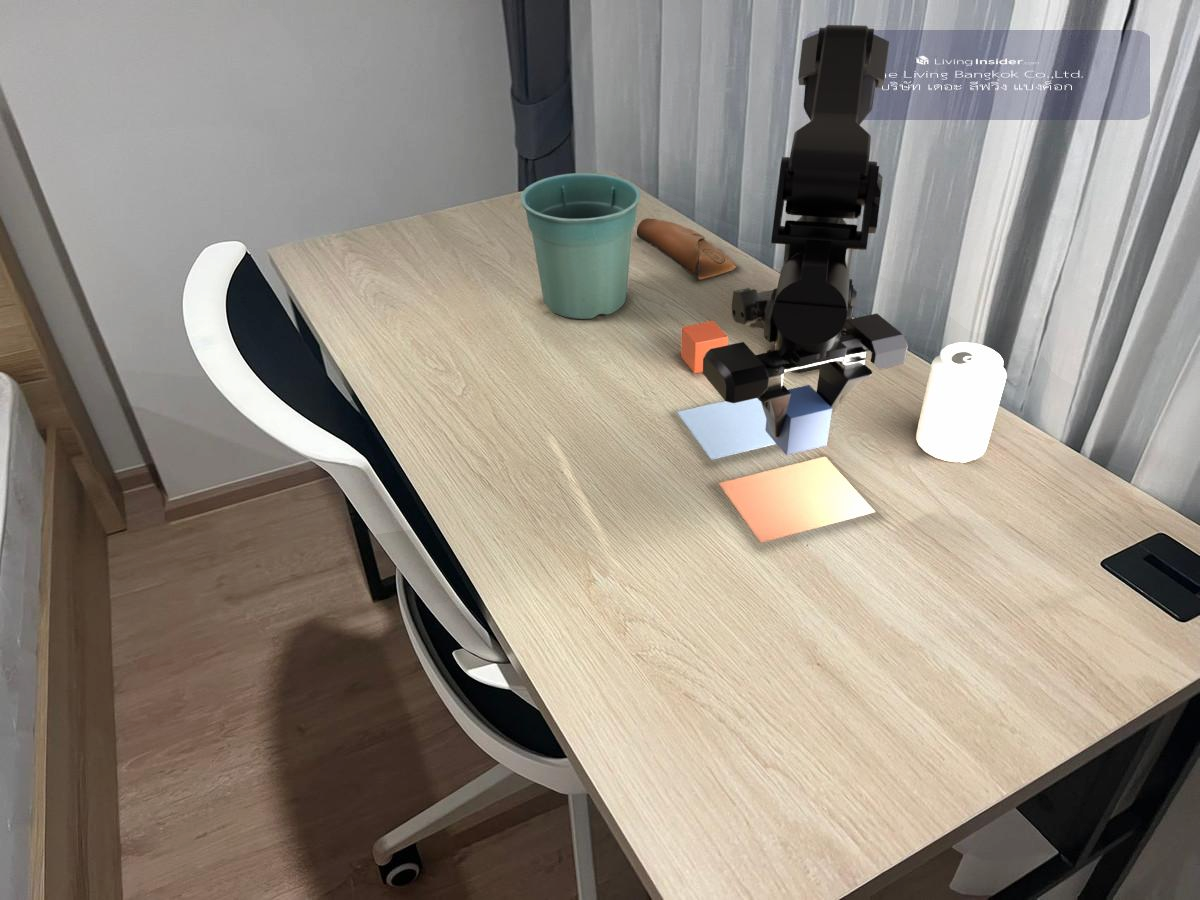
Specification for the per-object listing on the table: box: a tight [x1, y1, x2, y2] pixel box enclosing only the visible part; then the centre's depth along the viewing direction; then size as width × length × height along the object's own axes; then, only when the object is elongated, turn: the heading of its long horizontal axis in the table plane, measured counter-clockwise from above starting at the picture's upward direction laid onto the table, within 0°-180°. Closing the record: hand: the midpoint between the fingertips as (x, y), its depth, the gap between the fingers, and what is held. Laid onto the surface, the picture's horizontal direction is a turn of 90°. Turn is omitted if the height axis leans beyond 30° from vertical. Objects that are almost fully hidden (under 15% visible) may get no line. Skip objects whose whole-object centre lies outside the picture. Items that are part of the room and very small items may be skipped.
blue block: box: [765, 384, 833, 456], centre depth 89 cm, size 4×4×4 cm
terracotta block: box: [680, 320, 729, 374], centre depth 116 cm, size 4×4×4 cm
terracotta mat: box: [717, 455, 876, 544], centre depth 94 cm, size 13×10×1 cm
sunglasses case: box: [636, 217, 738, 281], centre depth 142 cm, size 18×7×7 cm
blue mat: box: [676, 398, 777, 461], centre depth 105 cm, size 13×10×1 cm
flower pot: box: [519, 172, 642, 320], centre depth 127 cm, size 16×16×16 cm
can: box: [915, 342, 1007, 464], centre depth 97 cm, size 8×8×12 cm
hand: (796, 429), depth 89 cm, fingers closed on blue block, 4 cm apart
